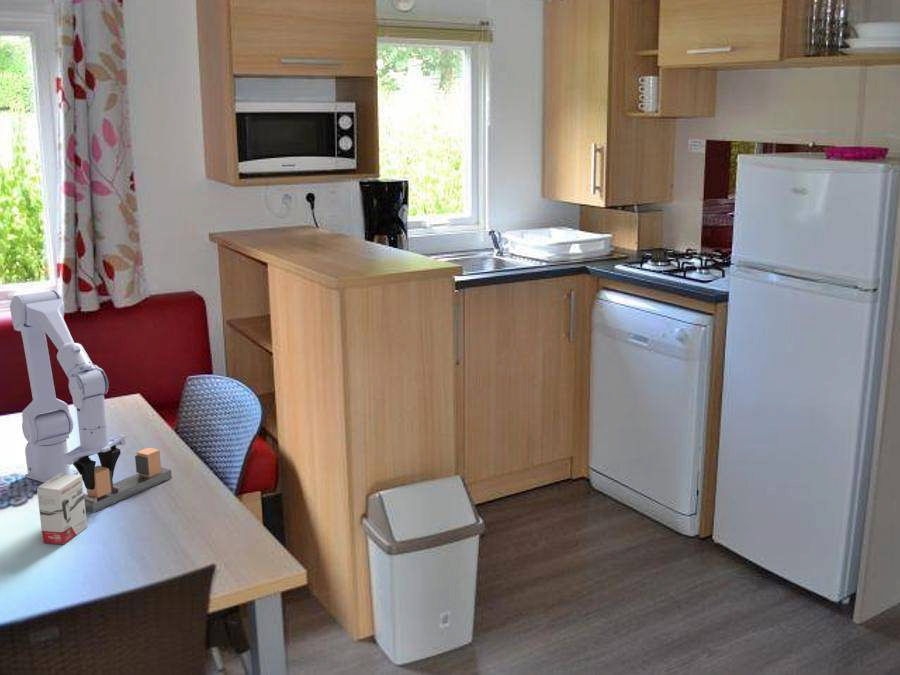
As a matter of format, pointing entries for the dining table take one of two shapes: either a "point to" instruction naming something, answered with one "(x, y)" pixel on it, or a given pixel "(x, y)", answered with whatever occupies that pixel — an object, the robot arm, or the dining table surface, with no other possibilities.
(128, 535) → the dining table surface
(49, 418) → the robot arm
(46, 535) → the ink box
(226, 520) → the dining table surface
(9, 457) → the dining table surface
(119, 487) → the rail
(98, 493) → the tan block with backing
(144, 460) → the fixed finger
